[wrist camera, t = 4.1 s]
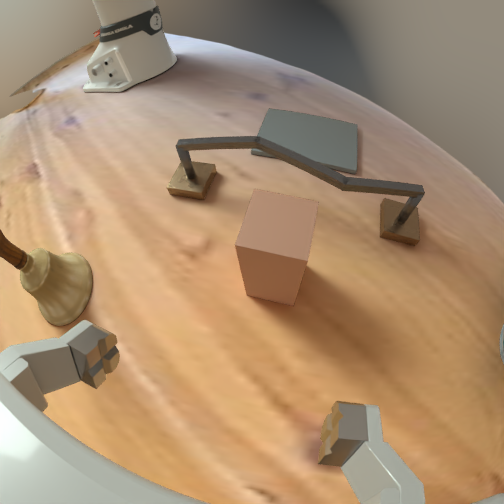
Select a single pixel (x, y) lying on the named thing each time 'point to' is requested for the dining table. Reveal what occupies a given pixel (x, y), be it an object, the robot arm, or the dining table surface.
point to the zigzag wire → (392, 213)
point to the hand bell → (52, 280)
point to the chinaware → (502, 344)
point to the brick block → (275, 245)
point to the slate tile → (312, 138)
